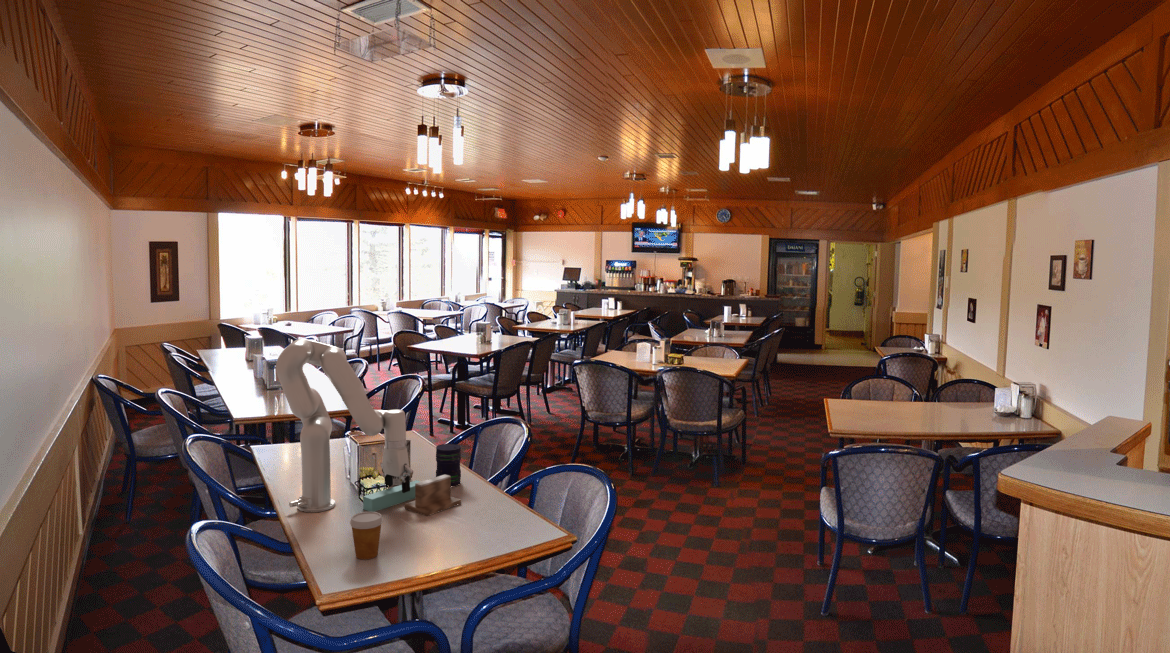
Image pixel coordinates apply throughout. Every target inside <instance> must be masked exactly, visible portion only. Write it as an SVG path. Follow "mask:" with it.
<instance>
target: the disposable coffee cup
mask: <svg viewBox="0 0 1170 653" xmlns="http://www.w3.org/2000/svg"><path fill="white" fill-rule="evenodd" d="M383 521H384V518H383V516H382V514H381V513H380V512H378V511H375V512H370V511H363V512H362V511H361V512H358V513H356V514H353V515H352V516H351V518H350V521H349V524H350V527H351V533H352V539H353V540H352V541H353V545H354V552H355V558H356V559H359V560H365V561H366V560H371V559H374V558H375V557H377V556H378V555H379V547H380V545H379V544H380V537H381V530H382V524H383Z"/></svg>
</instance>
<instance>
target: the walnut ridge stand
mask: <svg viewBox="0 0 1170 653" xmlns="http://www.w3.org/2000/svg"><path fill="white" fill-rule="evenodd" d="M451 492H452V487H451V476H449V475H446V474H445V475H441V476H438V477H436V476H435V477H432V478H430V479H428V478H427V479H425V480H422V481H421V482H419V483H415V498H414V500H413V501H410V502H407V503H404V509H406V510H409V511H411V512H415V513H418V514H420V515H423V516H425V517H428V515H429V516H431V515H430V514H432V515H434V514H437V513H439V512H438V511H440V512H442V511H441V510H443V511H445V510H444V509H446V510H448V509H450V508H449V507H451V508H453V507H452V506H454V505H457V504H459V505H461V504H462V499H460V498H457V497H454V496H452V495H451ZM460 503H461V504H460ZM457 506H458V505H457ZM454 507H455V506H454ZM447 508H448V509H447ZM436 512H437V513H436ZM433 513H434V514H433Z"/></svg>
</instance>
